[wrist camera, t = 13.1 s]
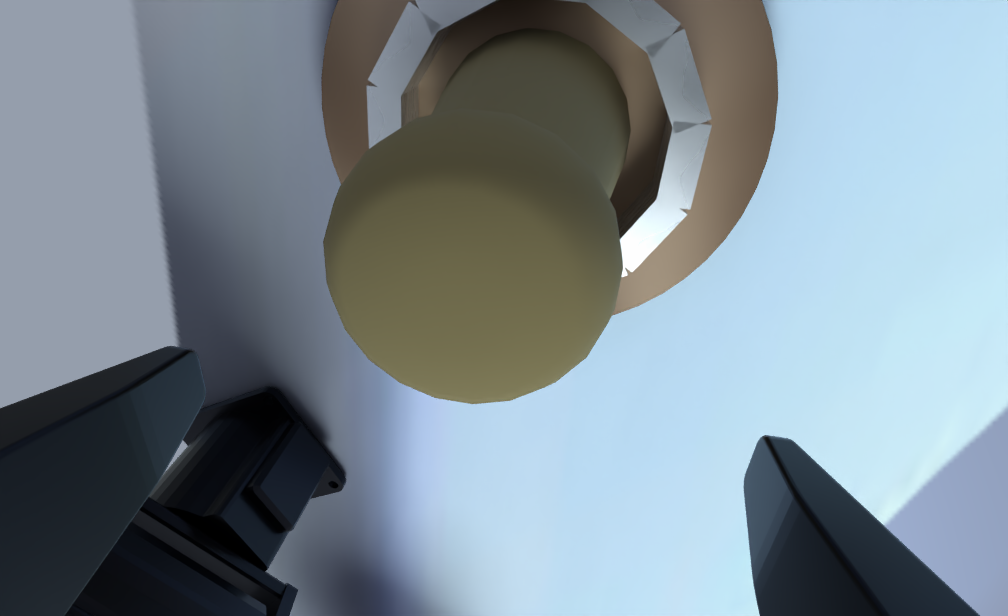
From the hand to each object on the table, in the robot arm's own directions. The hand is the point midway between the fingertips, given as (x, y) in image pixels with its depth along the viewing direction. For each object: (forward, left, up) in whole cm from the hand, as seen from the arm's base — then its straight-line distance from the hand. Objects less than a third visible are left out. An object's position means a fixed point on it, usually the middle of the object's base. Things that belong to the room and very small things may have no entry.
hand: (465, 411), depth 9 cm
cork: (0, +2, -12) cm, 12 cm away
